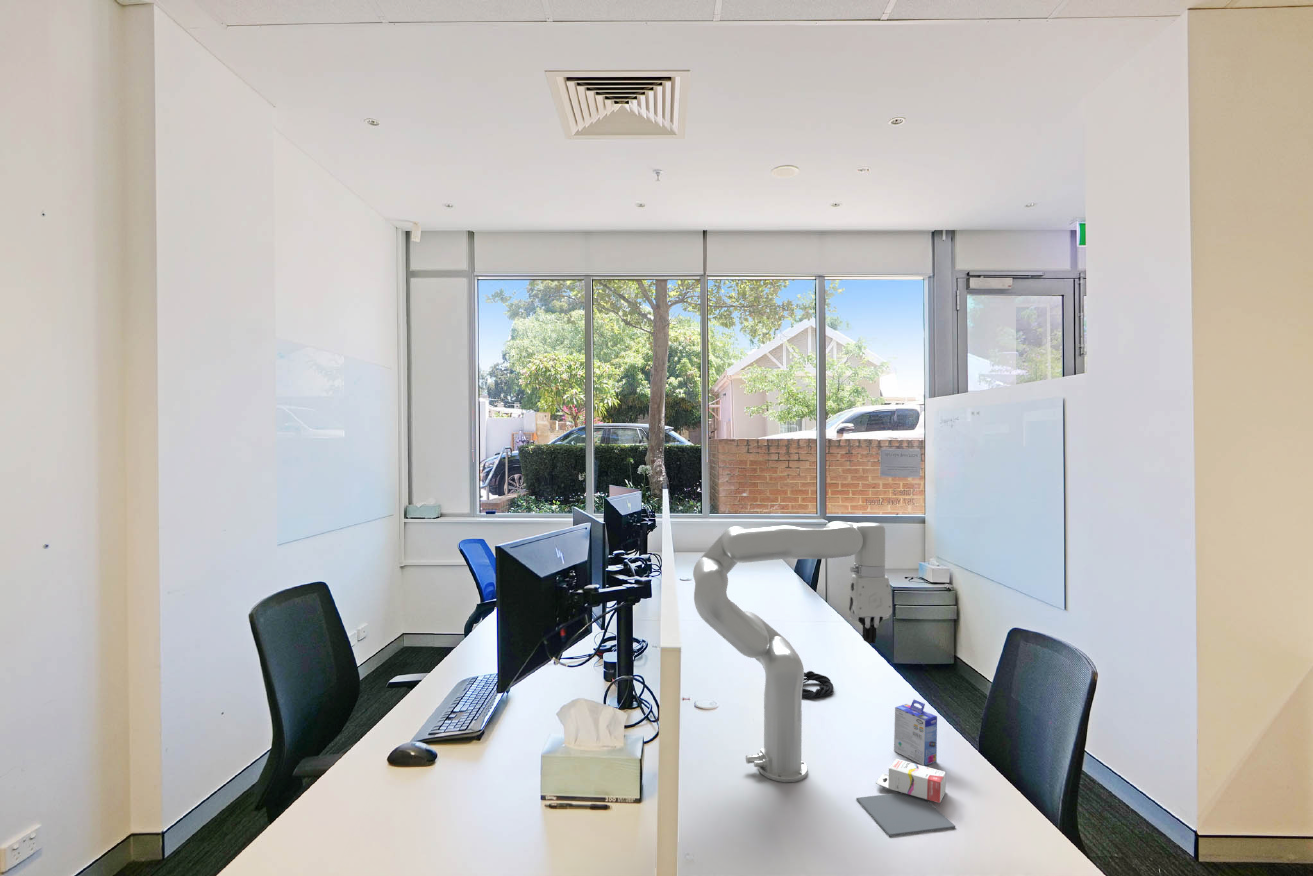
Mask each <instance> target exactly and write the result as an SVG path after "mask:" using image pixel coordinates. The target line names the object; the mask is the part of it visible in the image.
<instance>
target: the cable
mask: <svg viewBox="0 0 1313 876" xmlns="http://www.w3.org/2000/svg"><path fill="white" fill-rule="evenodd" d="M809 681H813V682H814V681H815V682H817V683H819V684H821V685H820V686H819V687H818V688H816V690H815V691H814V690H812V689H808V688H805V687H802V699H805V700H809V699H816V698H820V697H828V696H830V695H832V694H833V693H834V685H833V683H832V681H831V679H830V678H829V677H828V676H826V675H824V674H823V675H822V674H820V673H816V672H814V671H812V670H809V671H807V672H805V671H804V680H803V684H806V683H808V682H809Z"/></svg>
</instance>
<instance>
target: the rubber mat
mask: <svg viewBox="0 0 1313 876" xmlns="http://www.w3.org/2000/svg"><path fill="white" fill-rule="evenodd" d="M855 799H856V802H857V803H858V804H859V805H860V806H861V807H862V808H863V809H864V810H865V811H866V813H867V814H868V815H869V816H870V817H871V818H872V819H873V820H874V821H875V823H876V824H877V825H878V826H879V827H880V828H881V829H882V831H883V832H885V833H886V835H887V836H888V837H897V836H906V835H914V834H919V833H920V834H921V833H928V832H937V831H942V830H943V831H944V830H951V829H956V824H954V823H953V822H952V821H951V820H950V819H948V817H946V816H945V815H944V814H943V813H942V812H941V811H940V810H939V809H938V808H937V807H935V806H934V805H933V803H931V802H930V800H927V799H924V798H920V797H916V796H913V795H909V794H906V793H902V792H896V793H889V794H888V793H887V794H878V795H872V796H871V795H869V796H862V797H856V798H855Z"/></svg>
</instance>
